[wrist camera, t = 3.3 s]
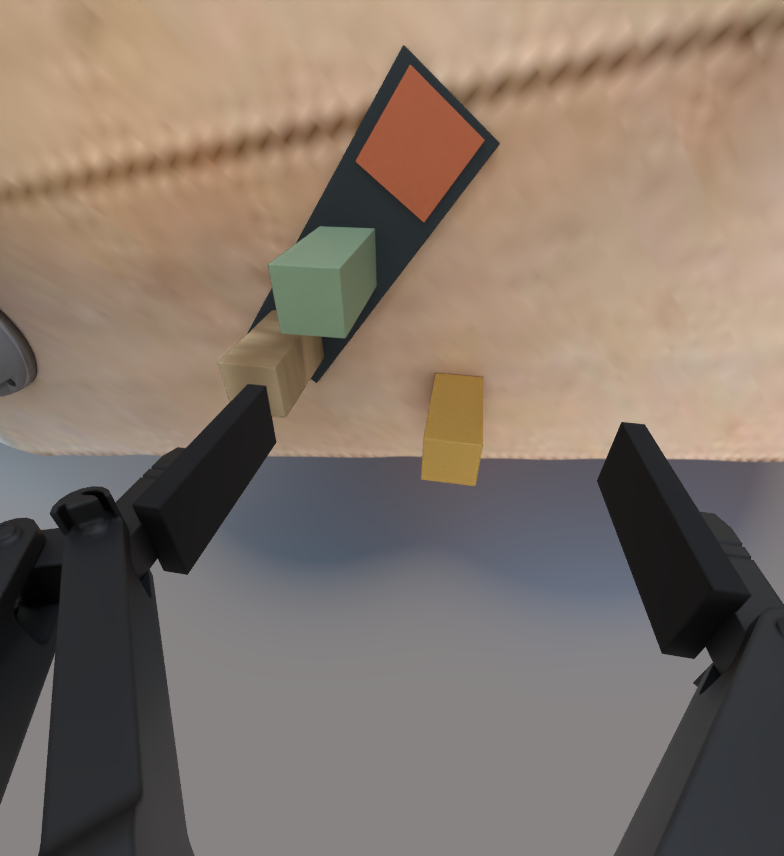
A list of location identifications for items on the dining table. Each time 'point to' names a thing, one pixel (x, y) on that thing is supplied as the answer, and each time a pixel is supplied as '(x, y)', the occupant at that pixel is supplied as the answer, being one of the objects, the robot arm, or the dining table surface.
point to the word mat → (399, 176)
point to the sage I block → (324, 281)
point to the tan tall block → (272, 364)
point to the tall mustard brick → (454, 430)
